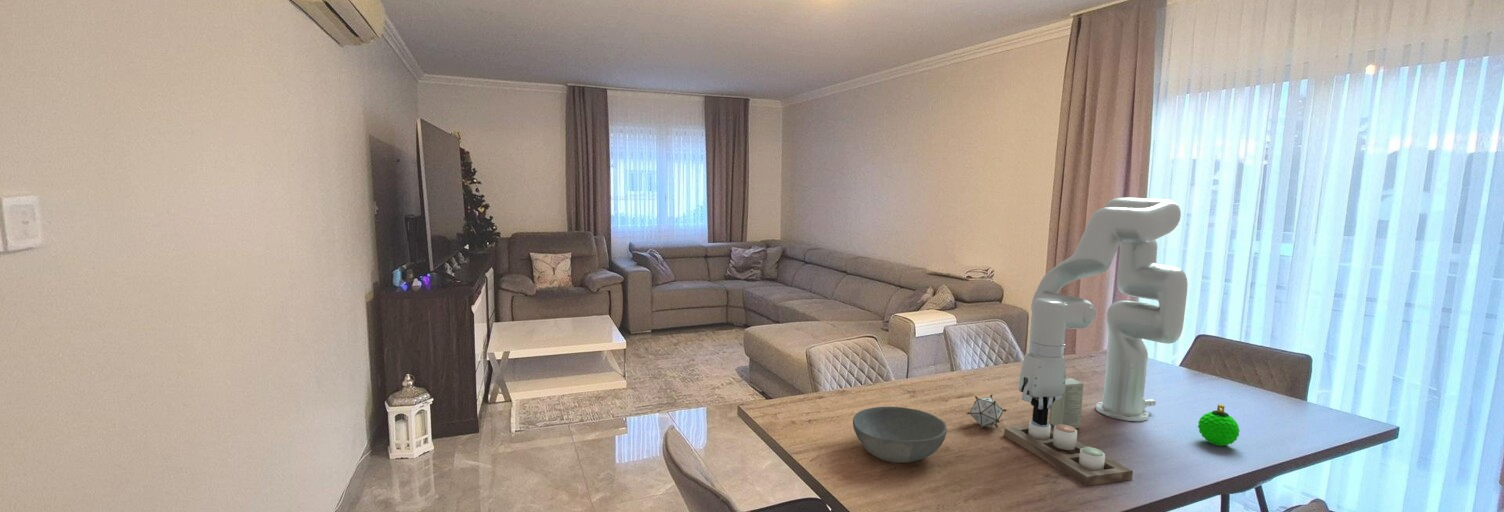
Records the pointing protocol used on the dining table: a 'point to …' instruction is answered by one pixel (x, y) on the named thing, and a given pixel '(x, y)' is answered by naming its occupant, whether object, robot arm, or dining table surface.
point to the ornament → (1218, 427)
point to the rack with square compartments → (1068, 458)
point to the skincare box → (1068, 405)
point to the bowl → (899, 433)
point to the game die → (986, 411)
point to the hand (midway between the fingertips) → (1039, 422)
